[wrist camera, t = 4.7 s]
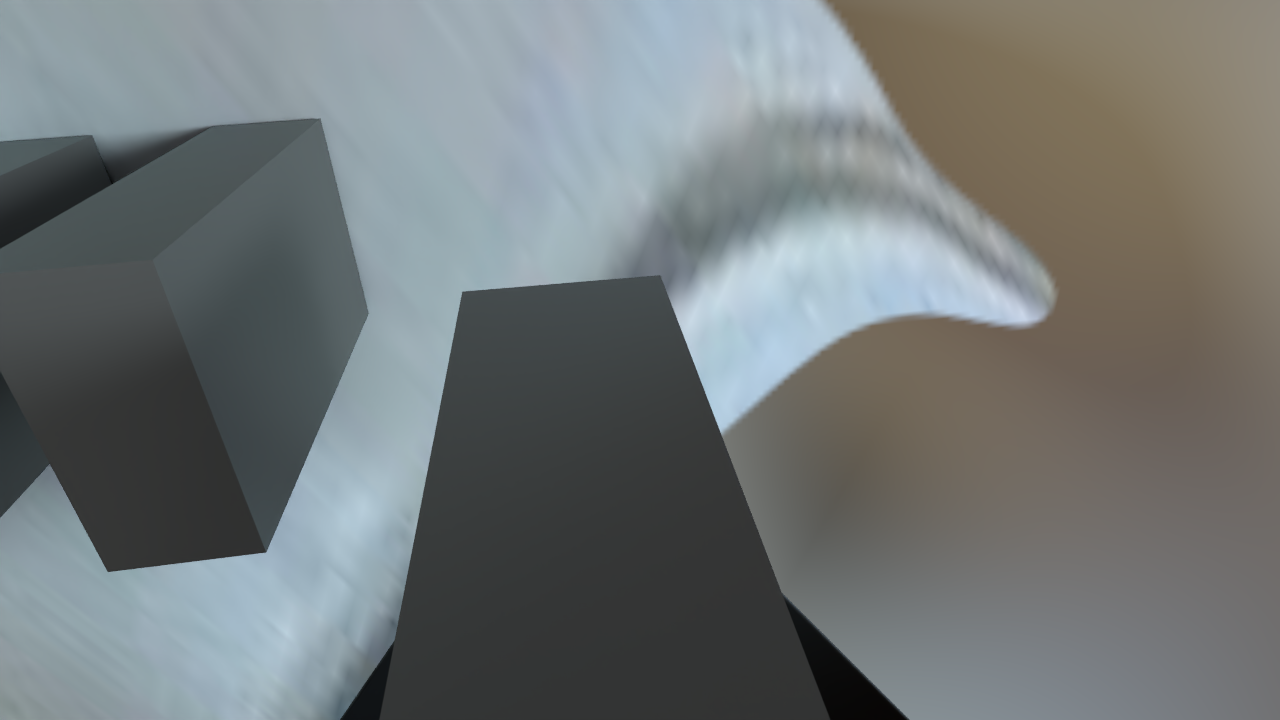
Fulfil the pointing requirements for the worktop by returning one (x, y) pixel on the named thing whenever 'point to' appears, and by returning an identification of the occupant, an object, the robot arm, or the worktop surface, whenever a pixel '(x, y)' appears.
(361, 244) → the worktop surface
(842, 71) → the worktop surface
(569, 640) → the domino
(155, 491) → the domino
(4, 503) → the domino
